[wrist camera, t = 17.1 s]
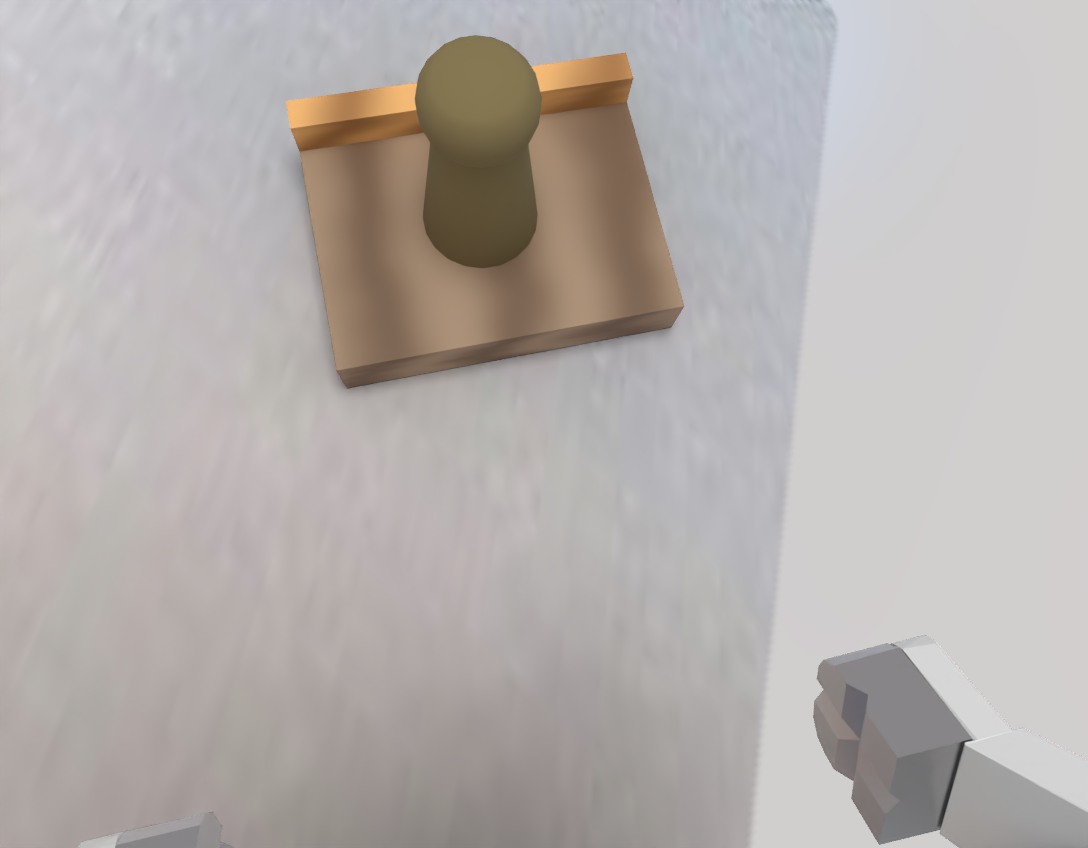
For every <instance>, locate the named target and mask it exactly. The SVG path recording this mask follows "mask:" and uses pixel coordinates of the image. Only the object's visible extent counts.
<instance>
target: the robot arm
mask: <svg viewBox="0 0 1088 848" xmlns="http://www.w3.org/2000/svg"><path fill="white" fill-rule="evenodd" d="M817 680H818V681H819V683H820V684H821V686H822V688H823V689H824V690H823V691H822V692H821V694H820V695H819V696H818V697H817V698H816V700H815V702H814V715H813V718H814V722H815V727H816V731H817V736H818V739H819V741H820V743H821V746H822V748H823V750H824V753H825V754H826V756H827V758H828V760H829V761H830V763H831V765H832V767H833V768H834V769H835V770H836V771H838V772H840V773H841V774H843V775H844V776H846V777H848V778H849V779H851V780H853V790H852V800H853V802H854V804H855V805H856V807H857V809H858V810H859V812H860V814H861V815H862V817H863V819H864V820H865V822H866V824H867V825H868V827H869V829H870V830H871V832H872V833H873V835H874V837H875V839H876V840H877V842H878V843H879V844H884V843H888V842H892V841H896V840H900V839H904V838H909V837H912V836H916V835H921V834H924V833H928V832H933V831H937V830H940V834H941V835H942V836H944V837H945V838H946V839H948V840H949V841H951V842H952V843H953V844H955V845H956V846H957V847H959V848H1088V760H1087V759H1085V758H1082V757H1081V756H1078V755H1076V754H1075V753H1072V752H1071V751H1069V750H1067V749H1065V748H1063V747H1061V746H1058V745H1057V744H1055V743H1053V742H1051V741H1049V740H1047V739H1045V738H1043V737H1041V736H1039V735H1037V734H1035V733H1033V732H1031V731H1029V730H1027V729H1025V728H1019V729H1014V730H1012V729H1011V728H1010V726H1009V725H1008V724H1007V723H1006V722H1005V721H1004V719H1003V718H1002V717H1001V716H1000V715H999V714H998V713H997V711H996V710H995V709H994V708H993V707H992V706H991V704H990V703H989V702H988V701H987V700H986V699H985V698H984V696H983V695H982V694H981V693H980V692H979V691H978V690H977V688H976V687H975V686H974V685H973V684H972V683H971V681H970V680H969V679H968V678H967V677H966V676H965V675H964V673H963V672H962V671H961V670H960V669H959V668H958V666H957V665H956V664H955V663H954V662H953V661H952V660H951V658H950V657H949V656H948V655H947V654H946V653H945V651H944V650H943V649H942V648H941V647H940V646H939V645H938V644H937V642H936V641H935V640H934V639H932V638H930V637H928V636H926V635H924V636H918V637H914V638H910V639H907V640H903V641H899V642H895V643H892V644H883V645H879V646H875V647H872V648H867V649H864V650H860V651H856V652H852V653H848V654H845V655H841V656H838V657H833V658H830V659H826V660H823V661H822V663H821V664H820V665H819V668H818V675H817ZM221 832H222V825H221V824H220V822H219V820H218V819H217V817H216V816H215V814H214V812H209V813H205V814H200V815H196V816H191V817H187V818H182V819H178V820H174V821H169V822H165V823H160V824H156V825H151V826H147V827H143V828H138V829H134V830H129V831H124V832H120V833H115V834H111V835H107V836H103V837H99V838H95V839H91V840H87V841H82V842H81V844H80V845H79V847H78V848H234V847H232V846H230V845H227V844H225V843H222V842H220V839H221Z"/></svg>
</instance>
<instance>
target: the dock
mask: <svg viewBox="0 0 1088 848" xmlns="http://www.w3.org/2000/svg"><path fill="white" fill-rule="evenodd" d="M531 67H532V69H533V70H534V72H535V73H536V77H537V81H538V85H539V89H540V92H541V96H542V102H541V111H540V120H539V125H538V127H537V129H536V131H535V133H534V135H533V137H532V139H531V140H530V142H529V144H528V145H529V152H530V160H531V168H532V175H533V183H534V190H535V198H536V206H537V213H538V216H537V225H536V231H535V233H534V235H533V237H532V239H531V242H530V244H529V245H528V246H527V247H526V248H525V249H524V250H523V251H522V252H521V253H520V254H519V255H518V256H517V257H516V258H514V259H512V260H510V261H508V262H506V263H504V264H502V265H499V266H494V267H488V268H476V267H467V266H463V265H461V264H459V263H456V262H454V261H452V260H449V259H448V258H446V257H445V256H444V255H443V254H442V253H441V252H439V251H438V250H437V249H436V248H435V247H434V246H433V244H432V242H431V241H430V239H429V237H428V236H427V234H426V231H425V226H424V221H423V208H424V198H425V188H426V178H427V169H428V159H429V149H430V142H429V140H428V138H427V137H426V135H425V134H424V132H423V130H422V128H421V127H420V125H419V120H418V115H417V110H416V105H415V94H416V87H417V83H411V84H404V85H397V86H390V87H383V88H376V89H369V90H362V91H355V92H348V93H341V94H334V95H327V96H320V97H313V98H306V99H299V100H292V101H286V104H287V110H288V116H289V122H290V128H291V131H292V133H293V136H294V138H295V141H296V144H297V146H298V149H299V151H300V157H301V162H302V168H303V174H304V180H305V186H306V192H307V198H308V204H309V210H310V216H311V222H312V228H313V233H314V239H315V245H316V251H317V257H318V263H319V269H320V275H321V281H322V287H323V293H324V299H325V304H326V310H327V316H328V322H329V328H330V334H331V340H332V346H333V352H334V358H335V364H336V369H337V372H338V374H339V375H340V377H341V379H342V380H343V382H344V384H345V386H346V387H347V388H351V387H356V386H362V385H367V384H372V383H377V382H383V381H388V380H393V379H399V378H404V377H409V376H415V375H420V374H425V373H431V372H436V371H441V370H447V369H452V368H457V367H463V366H468V365H473V364H478V363H484V362H489V361H494V360H500V359H505V358H510V357H516V356H521V355H526V354H532V353H537V352H542V351H548V350H553V349H558V348H564V347H569V346H574V345H580V344H585V343H590V342H595V341H601V340H606V339H611V338H617V337H622V336H627V335H633V334H638V333H643V332H649V331H654V330H659V329H665V328H670V327H672V325H673V323H674V322H675V320H676V318H677V317H678V315H679V314H680V312H681V310H682V309H683V307H684V304H683V301H682V297H681V293H680V290H679V286H678V283H677V279H676V276H675V272H674V269H673V265H672V261H671V258H670V254H669V251H668V247H667V244H666V240H665V237H664V233H663V230H662V226H661V222H660V219H659V215H658V212H657V208H656V205H655V201H654V198H653V194H652V190H651V187H650V183H649V180H648V176H647V173H646V169H645V166H644V162H643V159H642V155H641V151H640V148H639V144H638V141H637V137H636V134H635V130H634V127H633V123H632V120H631V116H630V112H629V109H628V105H627V99H628V95H629V92H630V88H631V84H632V80H633V76H632V72H631V69H630V66H629V62H628V59H627V55H626V53H621V54H614V55H607V56H600V57H593V58H586V59H579V60H572V61H565V62H558V63H551V64H544V65H537V66H531Z"/></svg>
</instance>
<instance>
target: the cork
mask: <svg viewBox="0 0 1088 848" xmlns="http://www.w3.org/2000/svg"><path fill="white" fill-rule="evenodd" d="M541 102H542V96H541V92H540V89H539V85H538V81H537V77H536V73H535V72H534V70H533V69H532V67H531V66H530V64H529V63H528V61H527V60H526V58H525V57H523V56H522V55H521V54H520V53H519V52H518V51H516V50H515V49H514V48H513V47H512V46H510V45H509V44H507V43H505V42H502V41H500V40H498V39H495V38H492V37H485V36H477V35H475V36H468V37H461V38H458V39H455V40H453V41H451V42H449V43H446V44H444V45H443V46H442V47H441V48H440V49H439V50H437V51H436V52H435V53H434V54H433V55H432V56H431V57H430V58H429V59H428V60H427V61H426V63H425V65H424V67H423V68H422V70H421V72H420V74H419V77H418V82H417V87H416V94H415V105H416V110H417V115H418V120H419V125H420V127H421V128H422V130H423V132H424V134H425V135H426V137H427V138H428V140H429V142H430V149H429V159H428V169H427V178H426V188H425V198H424V208H423V221H424V226H425V231H426V234H427V236H428V237H429V239H430V241H431V242H432V244H433V246H434V247H435V248H436V249H437V250H438V251H439V252H441V253H442V254H443V255H444V256H445V257H446V258H448V259H449V260H452V261H454V262H456V263H459V264H461V265H463V266H467V267H476V268H488V267H494V266H499V265H502V264H504V263H506V262H508V261H510V260H512V259H514V258H516V257H517V256H518V255H519V254H520V253H521V252H522V251H523V250H524V249H525V248H526V247H527V246H528V245H529V244H530V242H531V239H532V237H533V235H534V233H535V231H536V225H537V216H538V213H537V206H536V198H535V190H534V183H533V175H532V168H531V160H530V152H529V145H528V144H529V142H530V140H531V139H532V137H533V135H534V133H535V131H536V129H537V127H538V125H539V120H540V111H541Z"/></svg>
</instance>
